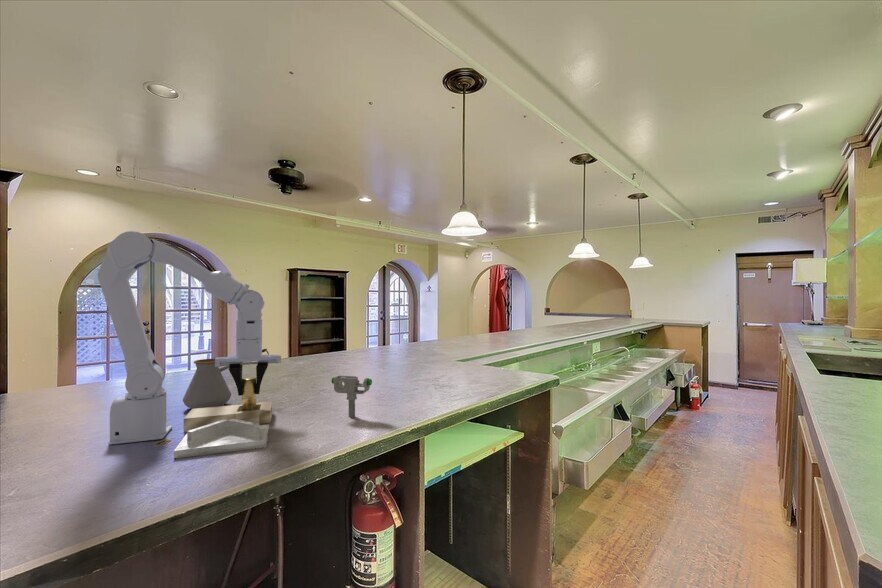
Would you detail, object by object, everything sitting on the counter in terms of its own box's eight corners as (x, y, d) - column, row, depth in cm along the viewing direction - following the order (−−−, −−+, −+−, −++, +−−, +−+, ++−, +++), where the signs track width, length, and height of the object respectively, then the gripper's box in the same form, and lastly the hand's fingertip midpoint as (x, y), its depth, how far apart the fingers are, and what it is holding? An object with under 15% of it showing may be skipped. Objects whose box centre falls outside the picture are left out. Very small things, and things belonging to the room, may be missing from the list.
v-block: (173, 458, 75) (173, 437, 75) (187, 440, 84) (187, 421, 84) (266, 447, 80) (266, 427, 80) (269, 431, 90) (269, 413, 89)
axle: (241, 413, 95) (241, 380, 95) (242, 410, 98) (242, 377, 98) (255, 412, 96) (255, 379, 96) (256, 408, 99) (256, 376, 99)
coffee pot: (182, 416, 100) (182, 357, 100) (182, 405, 110) (182, 351, 110) (272, 403, 112) (272, 350, 112) (265, 394, 121) (265, 346, 121)
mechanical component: (368, 419, 97) (368, 379, 97) (330, 417, 99) (330, 377, 99) (372, 416, 100) (372, 377, 100) (335, 413, 102) (335, 375, 102)
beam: (183, 431, 89) (183, 418, 89) (192, 421, 96) (192, 408, 96) (270, 422, 95) (270, 410, 95) (272, 413, 103) (272, 401, 103)
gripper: (212, 341, 91) (212, 400, 91) (280, 339, 96) (280, 395, 96) (218, 338, 97) (217, 393, 97) (281, 336, 102) (281, 388, 102)
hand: (249, 393), depth 97 cm, fingers closed on axle, 3 cm apart
